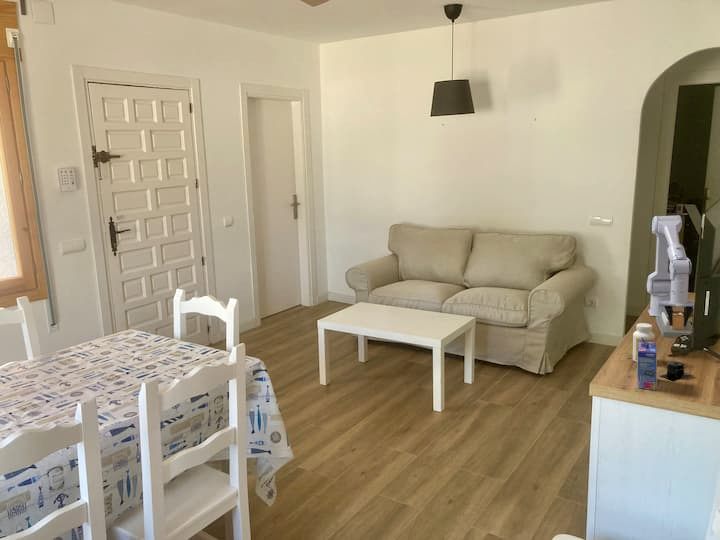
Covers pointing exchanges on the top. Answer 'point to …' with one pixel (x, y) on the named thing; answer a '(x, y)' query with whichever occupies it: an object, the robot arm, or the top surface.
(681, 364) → the black block
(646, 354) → the ink cartridge box
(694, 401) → the top surface
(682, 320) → the orange block
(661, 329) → the channel deck
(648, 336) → the supplement bottle
